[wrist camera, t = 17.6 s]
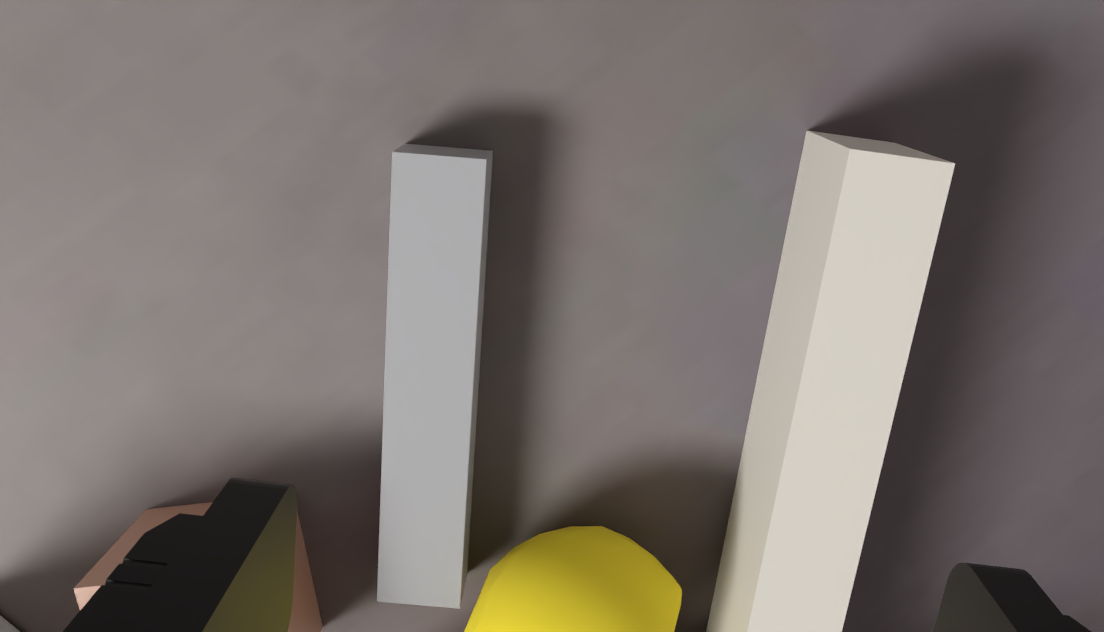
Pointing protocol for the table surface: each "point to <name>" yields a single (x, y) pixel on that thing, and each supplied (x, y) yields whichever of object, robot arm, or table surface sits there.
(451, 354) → the grey stick
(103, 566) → the terracotta block
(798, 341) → the white bar
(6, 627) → the small box
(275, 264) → the table surface
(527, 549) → the lemon
